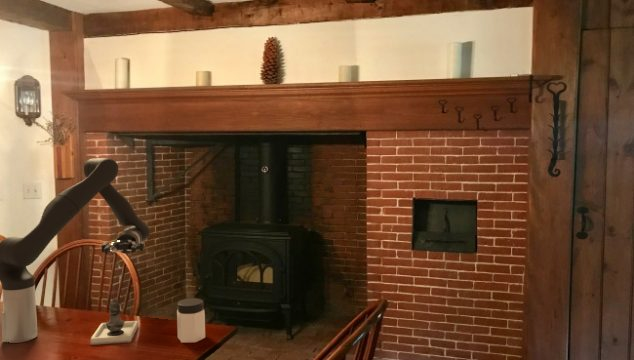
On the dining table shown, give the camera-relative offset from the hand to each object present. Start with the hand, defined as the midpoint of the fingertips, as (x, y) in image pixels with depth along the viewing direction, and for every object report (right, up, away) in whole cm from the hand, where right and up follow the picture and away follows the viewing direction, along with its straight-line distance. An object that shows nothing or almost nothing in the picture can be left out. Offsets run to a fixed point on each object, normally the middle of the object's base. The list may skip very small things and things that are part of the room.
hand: (119, 250), depth 182 cm
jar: (+28, -27, -12) cm, 40 cm away
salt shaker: (+2, -26, -9) cm, 28 cm away
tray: (+2, -27, -9) cm, 28 cm away
